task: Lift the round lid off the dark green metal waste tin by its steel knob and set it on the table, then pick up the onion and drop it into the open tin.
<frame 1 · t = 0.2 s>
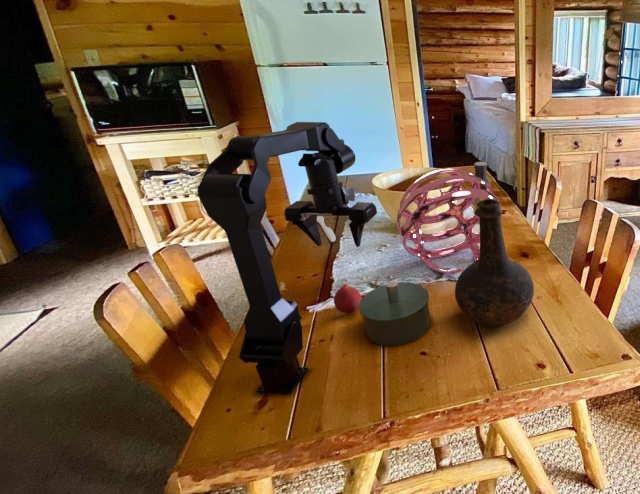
hand: (339, 245, 102), 15 cm above the table, tool pointing down, fingers open, 9 cm apart
waste tin: (399, 325, 98), on the table
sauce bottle: (483, 219, 151), on the table
tin lid: (394, 301, 96), point 6 cm above the table, touching waste tin
onion: (351, 313, 103), on the table
glass bottle: (496, 314, 103), on the table
pink openwork sphere: (454, 260, 126), on the table
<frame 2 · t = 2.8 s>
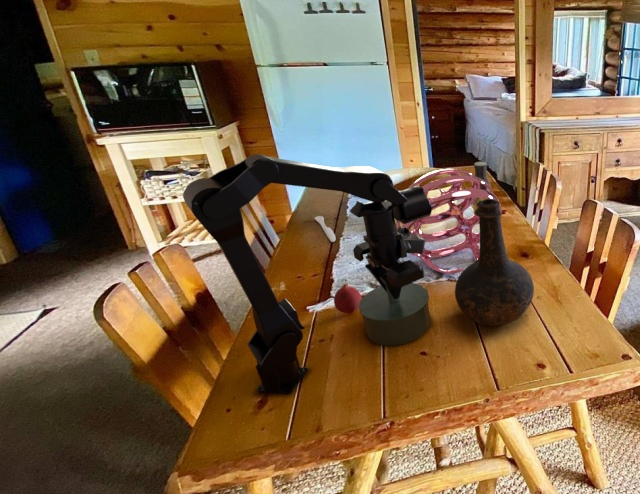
hand: (393, 295, 95), 8 cm above the table, tool pointing down, fingers closed on tin lid, 2 cm apart
tin lid: (394, 301, 96), point 6 cm above the table, touching gripper, waste tin
everything else where it was.
when the fingers open (2 cm above the table, at t = 7.9 s): tin lid stays where it is, point 1 cm above the table.
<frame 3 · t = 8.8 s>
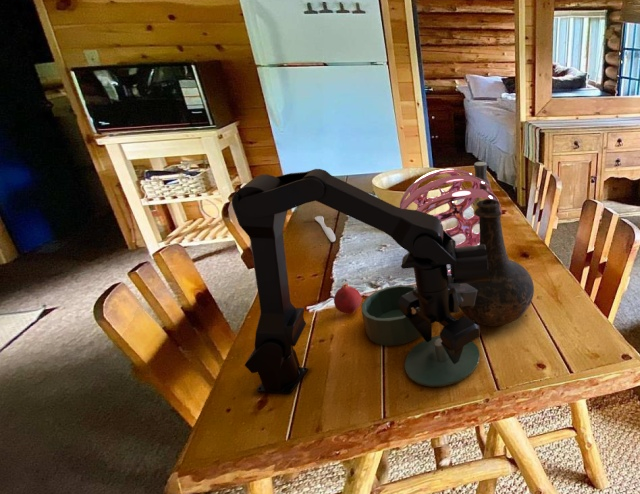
hand: (442, 351, 87), 3 cm above the table, tool pointing down, fingers open, 9 cm apart
tin lid: (442, 359, 88), point 1 cm above the table
everything else where it was.
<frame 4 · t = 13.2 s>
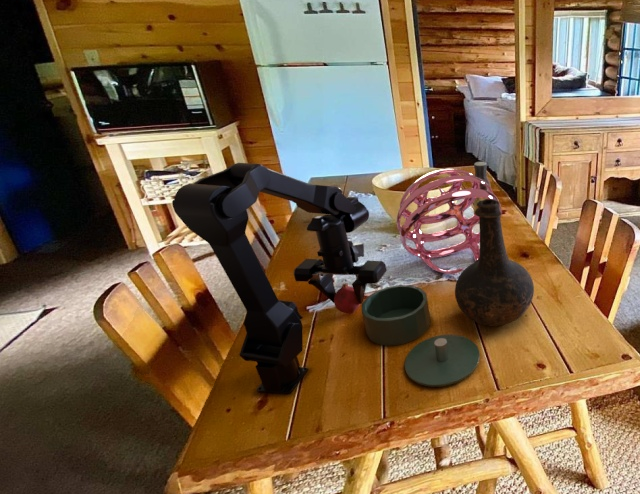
hand: (348, 302, 101), 3 cm above the table, tool pointing down, fingers closed on onion, 6 cm apart
onion: (351, 313, 103), on the table, touching gripper
everything else where it was.
when the fingers open (7 cm above the table, at t = 17.8 s): onion drops 3 cm, resting on waste tin.
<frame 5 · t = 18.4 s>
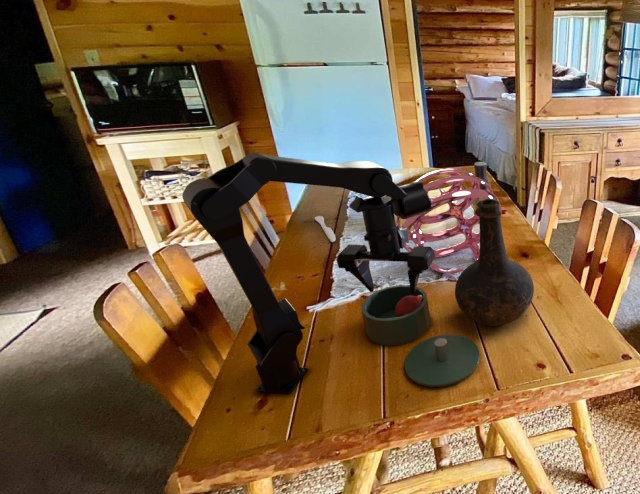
hand: (393, 291, 94), 9 cm above the table, tool pointing down, fingers open, 9 cm apart
onion: (399, 321, 98), point 1 cm above the table, touching waste tin
everything else where it was.
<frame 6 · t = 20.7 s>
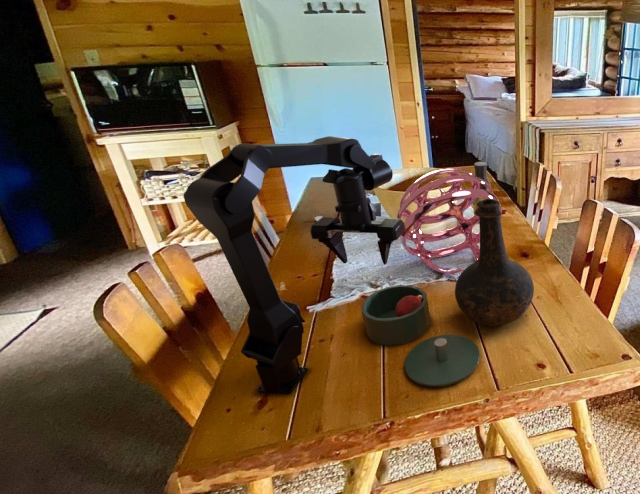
hand: (365, 263, 99), 12 cm above the table, tool pointing down, fingers open, 9 cm apart
nothing on the table moved.
at the end: tin lid inside the target area (0.1 cm from its centre), point 0.6 cm above the table; onion inside the target area in the waste tin (0.2 cm from its centre), point 1.2 cm above the waste tin's base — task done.
